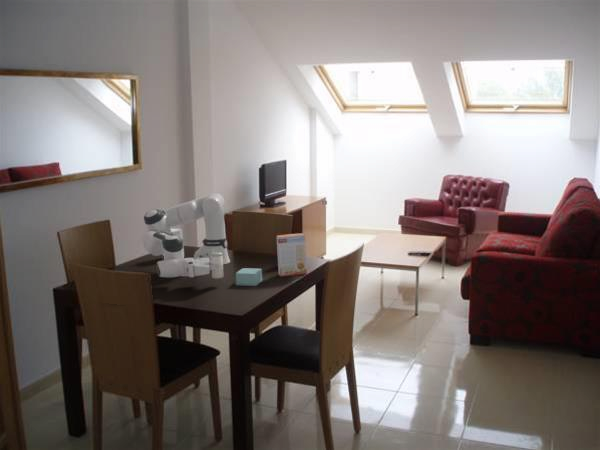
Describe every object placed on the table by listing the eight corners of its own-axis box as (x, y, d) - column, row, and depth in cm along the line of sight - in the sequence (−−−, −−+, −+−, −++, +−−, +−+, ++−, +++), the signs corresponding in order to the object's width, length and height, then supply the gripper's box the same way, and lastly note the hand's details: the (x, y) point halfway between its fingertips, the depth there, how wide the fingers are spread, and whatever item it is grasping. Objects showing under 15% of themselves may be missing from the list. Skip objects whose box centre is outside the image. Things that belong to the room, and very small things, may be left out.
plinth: (235, 285, 326) (234, 273, 325) (243, 279, 337) (242, 267, 335) (256, 285, 324) (255, 273, 323) (263, 280, 334) (262, 268, 333)
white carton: (184, 256, 394) (182, 228, 391) (175, 260, 385) (173, 231, 382) (171, 255, 398) (169, 228, 395) (162, 259, 389) (159, 231, 386)
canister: (210, 278, 324) (208, 254, 322) (214, 275, 330) (213, 252, 328) (221, 278, 323) (219, 255, 321) (225, 275, 328) (224, 252, 326)
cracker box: (304, 271, 347) (302, 232, 343) (307, 274, 341) (305, 234, 337) (278, 274, 344) (276, 234, 340) (280, 277, 338) (278, 236, 334)
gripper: (191, 267, 334) (219, 265, 336) (190, 278, 314) (219, 276, 316) (190, 255, 333) (218, 253, 335) (189, 265, 313) (218, 263, 315)
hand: (219, 264), depth 325 cm, fingers closed on canister, 6 cm apart
